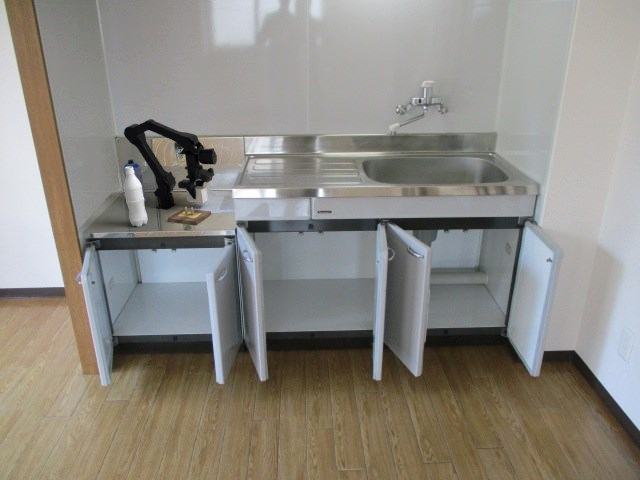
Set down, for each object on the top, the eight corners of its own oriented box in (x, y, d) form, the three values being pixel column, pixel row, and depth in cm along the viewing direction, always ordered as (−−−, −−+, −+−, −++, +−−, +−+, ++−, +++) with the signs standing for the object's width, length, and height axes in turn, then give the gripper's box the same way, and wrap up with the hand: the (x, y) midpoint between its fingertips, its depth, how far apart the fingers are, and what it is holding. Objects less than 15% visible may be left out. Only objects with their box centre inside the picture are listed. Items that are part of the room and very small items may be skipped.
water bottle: (134, 221, 215) (123, 164, 204) (151, 220, 215) (141, 164, 204) (128, 227, 209) (116, 170, 198) (145, 227, 208) (134, 169, 198)
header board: (168, 221, 214) (166, 210, 212) (183, 211, 224) (182, 200, 222) (197, 225, 210) (195, 214, 208) (211, 214, 220) (210, 203, 218)
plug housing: (187, 201, 226) (185, 188, 223) (192, 198, 230) (191, 185, 227) (203, 203, 224) (201, 190, 221) (208, 199, 228) (206, 187, 225)
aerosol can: (145, 197, 241) (138, 156, 233) (147, 202, 235) (140, 161, 226) (128, 200, 239) (120, 159, 230) (130, 205, 232) (121, 163, 224)
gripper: (198, 171, 209) (202, 206, 216) (219, 159, 225) (223, 192, 232) (174, 169, 212) (180, 203, 219) (198, 157, 228) (202, 189, 235)
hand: (197, 197), depth 226 cm, fingers closed on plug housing, 4 cm apart
